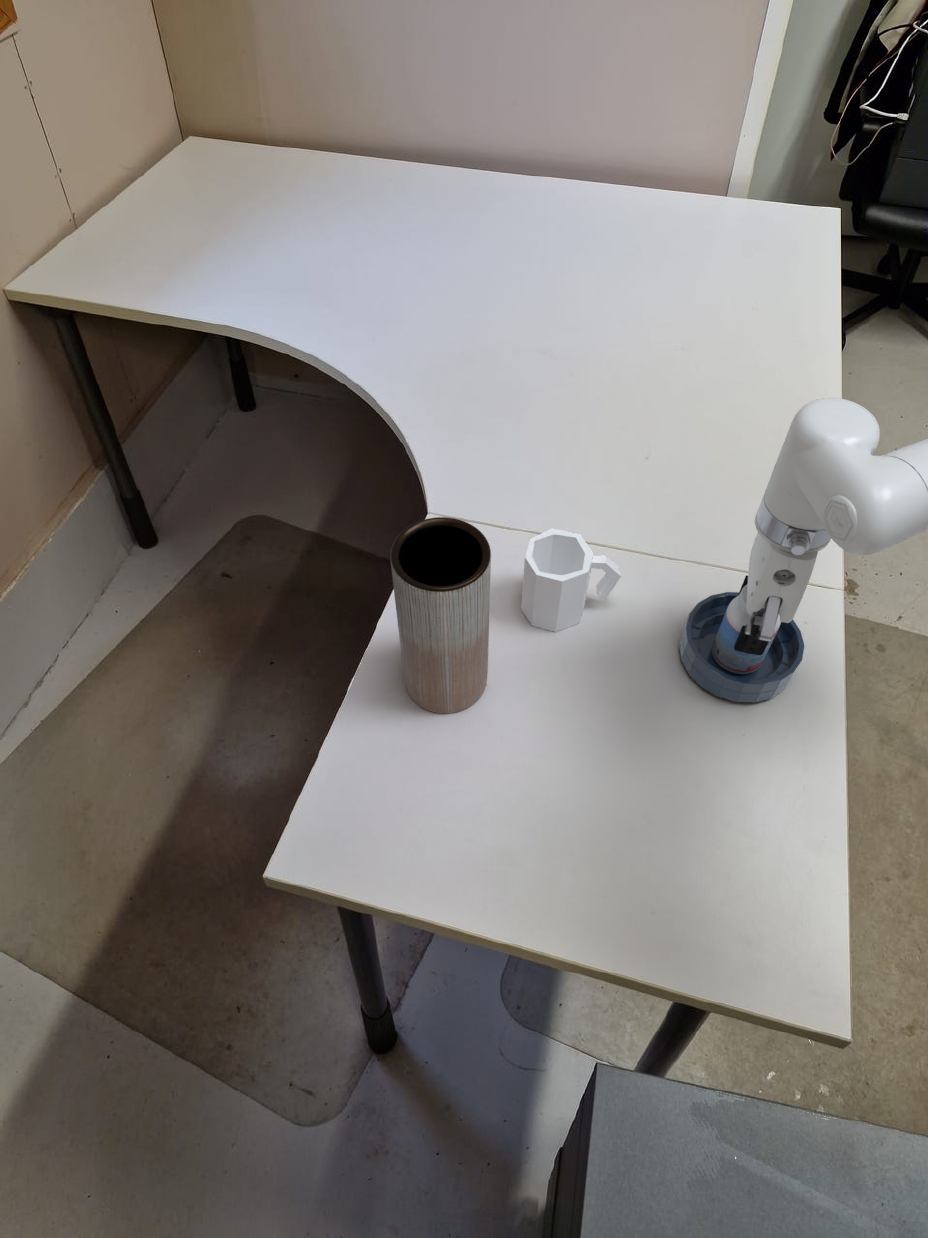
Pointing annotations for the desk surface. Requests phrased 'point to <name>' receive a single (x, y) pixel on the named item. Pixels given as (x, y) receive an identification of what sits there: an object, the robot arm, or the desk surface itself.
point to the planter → (443, 611)
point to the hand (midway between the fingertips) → (749, 624)
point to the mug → (561, 579)
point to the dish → (726, 684)
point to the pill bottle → (728, 636)
